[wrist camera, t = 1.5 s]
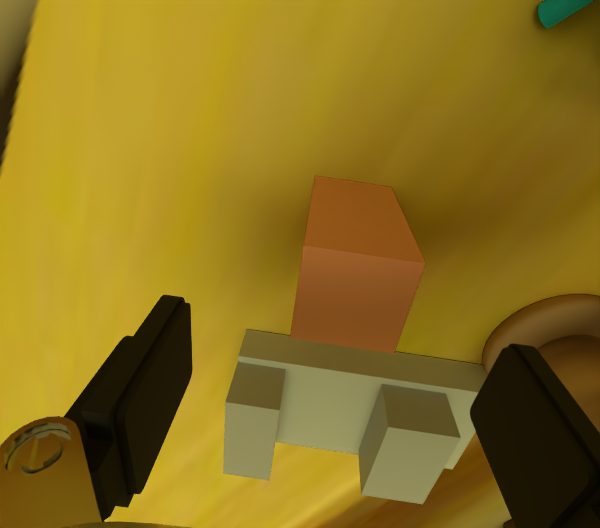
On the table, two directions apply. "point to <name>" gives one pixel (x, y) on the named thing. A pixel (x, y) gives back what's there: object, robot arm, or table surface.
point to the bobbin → (559, 344)
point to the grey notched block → (350, 410)
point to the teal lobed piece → (559, 10)
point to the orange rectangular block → (355, 267)
